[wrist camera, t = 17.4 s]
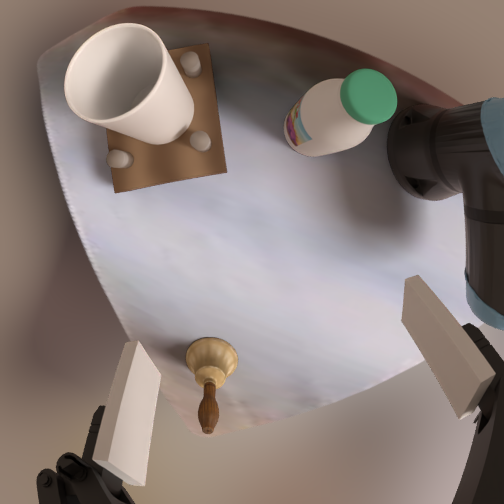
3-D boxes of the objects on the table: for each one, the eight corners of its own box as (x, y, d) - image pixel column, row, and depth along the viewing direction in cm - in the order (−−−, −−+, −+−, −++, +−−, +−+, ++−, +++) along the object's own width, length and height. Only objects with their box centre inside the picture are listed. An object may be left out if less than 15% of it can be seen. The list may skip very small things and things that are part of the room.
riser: (210, 57, 35) (205, 29, 27) (227, 172, 39) (225, 170, 31) (115, 79, 35) (90, 59, 26) (127, 191, 39) (101, 195, 30)
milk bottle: (345, 120, 38) (425, 85, 19) (323, 167, 40) (396, 161, 21) (297, 94, 37) (347, 33, 18) (273, 140, 39) (309, 108, 19)
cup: (116, 110, 32) (48, 75, 16) (169, 68, 31) (130, 5, 15) (153, 158, 34) (96, 146, 18) (207, 115, 33) (189, 69, 17)
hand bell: (220, 328, 45) (215, 397, 29) (247, 366, 47) (254, 438, 31) (175, 350, 45) (155, 419, 30) (204, 386, 47) (197, 457, 32)
